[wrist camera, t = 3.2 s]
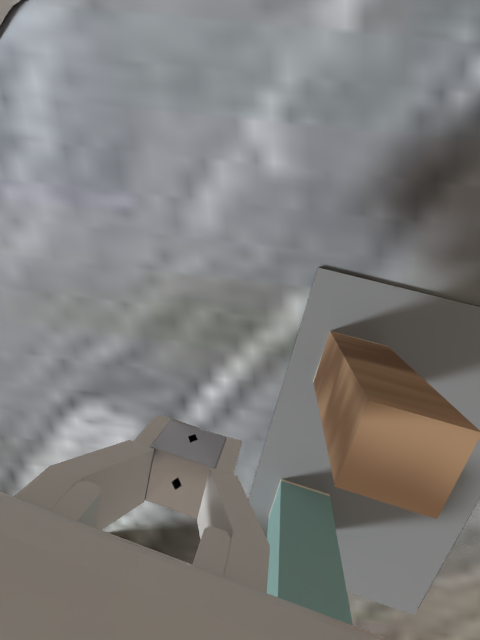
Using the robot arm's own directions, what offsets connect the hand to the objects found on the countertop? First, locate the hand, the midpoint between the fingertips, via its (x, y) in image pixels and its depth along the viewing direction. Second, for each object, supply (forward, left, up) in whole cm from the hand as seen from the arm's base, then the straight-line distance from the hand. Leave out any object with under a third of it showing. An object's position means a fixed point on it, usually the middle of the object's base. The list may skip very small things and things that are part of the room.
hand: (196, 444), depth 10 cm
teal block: (+13, +8, -12) cm, 19 cm away
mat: (+7, +12, -13) cm, 18 cm away
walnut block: (0, +8, -12) cm, 14 cm away
